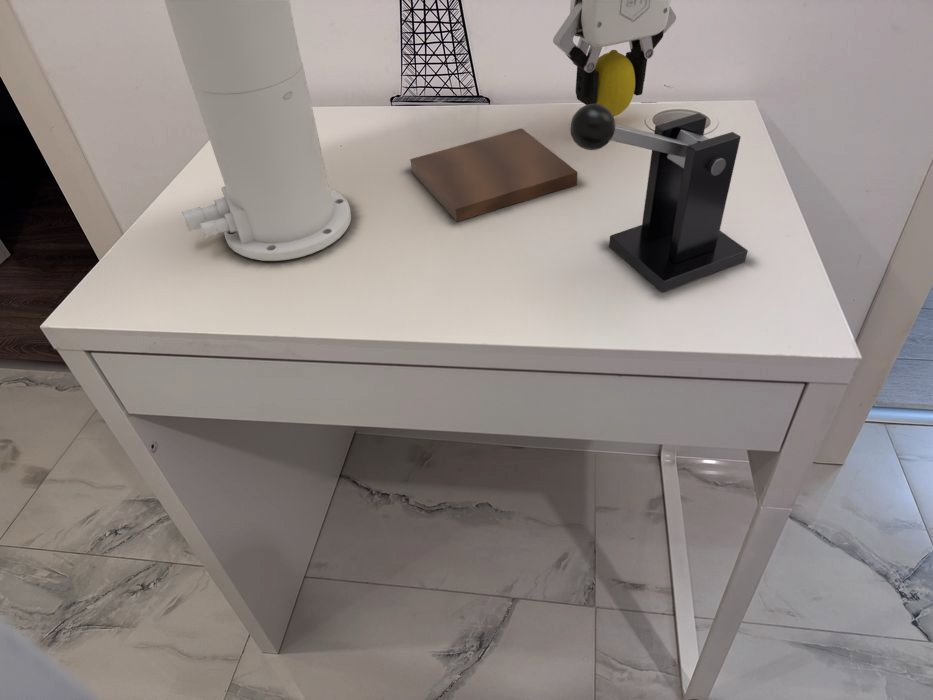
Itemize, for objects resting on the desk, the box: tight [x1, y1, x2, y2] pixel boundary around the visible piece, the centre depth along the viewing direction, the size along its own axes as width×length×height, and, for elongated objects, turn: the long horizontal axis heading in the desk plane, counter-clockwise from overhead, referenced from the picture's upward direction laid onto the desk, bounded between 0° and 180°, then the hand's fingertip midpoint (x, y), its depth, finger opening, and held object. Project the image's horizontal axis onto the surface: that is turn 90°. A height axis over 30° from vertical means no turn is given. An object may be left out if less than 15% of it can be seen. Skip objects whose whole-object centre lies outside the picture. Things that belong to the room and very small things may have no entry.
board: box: [409, 128, 578, 223], centre depth 74 cm, size 14×12×2 cm
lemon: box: [594, 49, 635, 117], centre depth 79 cm, size 6×6×8 cm
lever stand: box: [608, 112, 749, 293], centre depth 59 cm, size 9×8×12 cm
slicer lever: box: [569, 104, 709, 168], centre depth 53 cm, size 14×3×3 cm, turn 116°
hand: (609, 95), depth 80 cm, fingers closed on lemon, 5 cm apart
